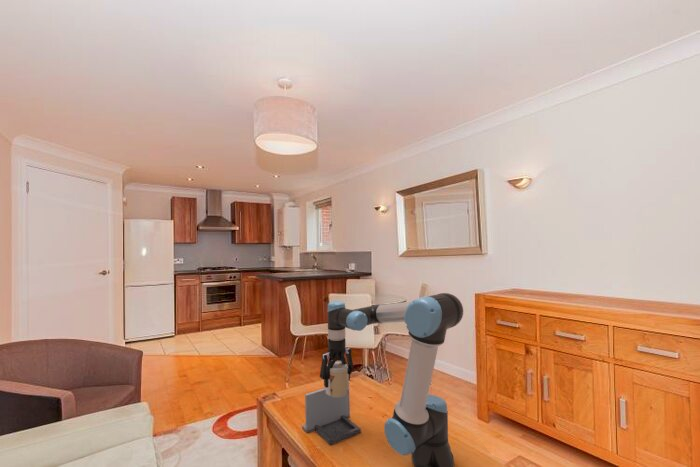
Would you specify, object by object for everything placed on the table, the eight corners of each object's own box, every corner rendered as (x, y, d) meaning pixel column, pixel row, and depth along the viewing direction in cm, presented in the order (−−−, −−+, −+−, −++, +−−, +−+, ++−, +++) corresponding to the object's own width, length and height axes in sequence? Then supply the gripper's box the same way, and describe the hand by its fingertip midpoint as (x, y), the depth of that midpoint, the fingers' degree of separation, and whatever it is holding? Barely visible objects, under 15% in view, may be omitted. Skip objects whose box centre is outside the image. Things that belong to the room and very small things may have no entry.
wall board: (349, 417, 156) (349, 382, 156) (307, 433, 144) (306, 395, 144) (343, 412, 160) (343, 378, 160) (302, 428, 148) (301, 391, 148)
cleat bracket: (360, 433, 143) (360, 428, 143) (330, 445, 134) (330, 440, 134) (343, 419, 154) (343, 415, 154) (314, 430, 146) (314, 425, 146)
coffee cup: (324, 390, 147) (323, 362, 147) (344, 387, 149) (344, 360, 150) (329, 400, 138) (329, 370, 138) (351, 396, 141) (350, 367, 141)
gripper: (352, 332, 153) (352, 381, 153) (310, 340, 141) (311, 394, 141) (361, 335, 147) (362, 387, 147) (319, 345, 135) (320, 401, 134)
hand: (337, 391), depth 144 cm, fingers closed on coffee cup, 9 cm apart
